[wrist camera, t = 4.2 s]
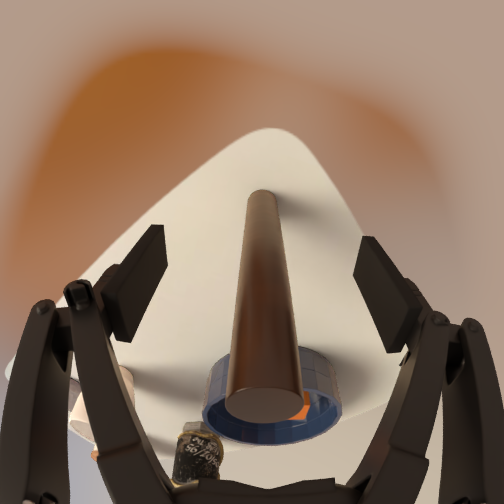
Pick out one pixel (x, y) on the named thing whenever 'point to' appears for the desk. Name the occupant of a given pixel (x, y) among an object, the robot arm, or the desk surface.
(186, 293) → the desk surface
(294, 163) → the desk surface
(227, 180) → the desk surface
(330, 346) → the desk surface
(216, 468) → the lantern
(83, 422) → the mug
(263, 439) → the stir bowl
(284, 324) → the stick
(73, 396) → the stone block
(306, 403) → the block
